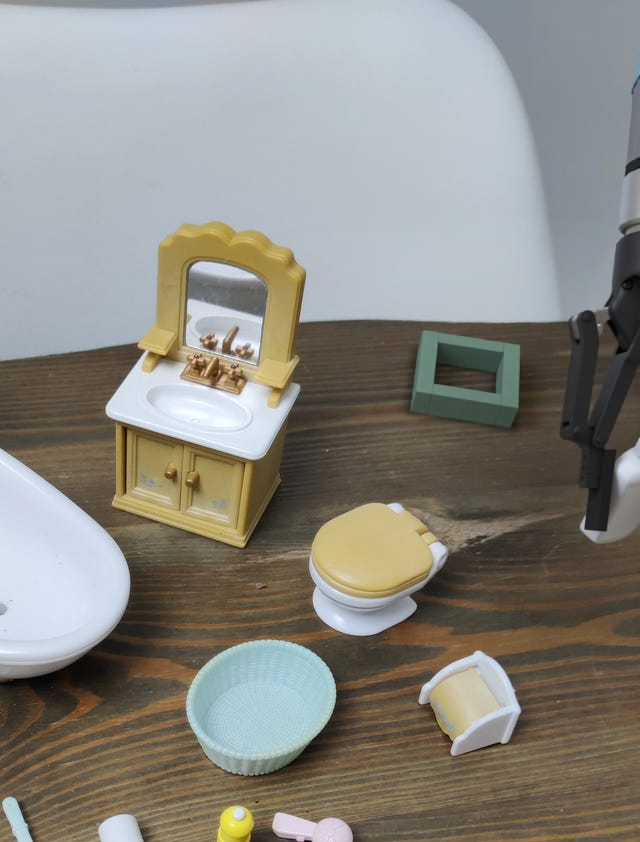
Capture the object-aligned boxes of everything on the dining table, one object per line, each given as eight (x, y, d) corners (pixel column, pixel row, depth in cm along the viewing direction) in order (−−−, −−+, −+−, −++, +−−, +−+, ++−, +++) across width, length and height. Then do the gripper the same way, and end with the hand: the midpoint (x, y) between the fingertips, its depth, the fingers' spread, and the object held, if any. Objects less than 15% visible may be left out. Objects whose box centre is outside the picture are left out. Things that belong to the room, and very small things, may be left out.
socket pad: (511, 369, 114) (520, 344, 112) (508, 432, 108) (518, 407, 105) (416, 354, 116) (423, 329, 113) (408, 415, 110) (416, 391, 107)
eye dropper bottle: (648, 545, 84) (714, 439, 74) (583, 545, 84) (640, 440, 74) (633, 507, 86) (694, 401, 77) (569, 508, 86) (623, 401, 76)
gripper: (762, 250, 80) (723, 535, 84) (533, 241, 80) (505, 525, 84) (820, 226, 73) (775, 540, 76) (568, 216, 73) (535, 529, 77)
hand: (633, 531), depth 80 cm, fingers closed on eye dropper bottle, 5 cm apart
